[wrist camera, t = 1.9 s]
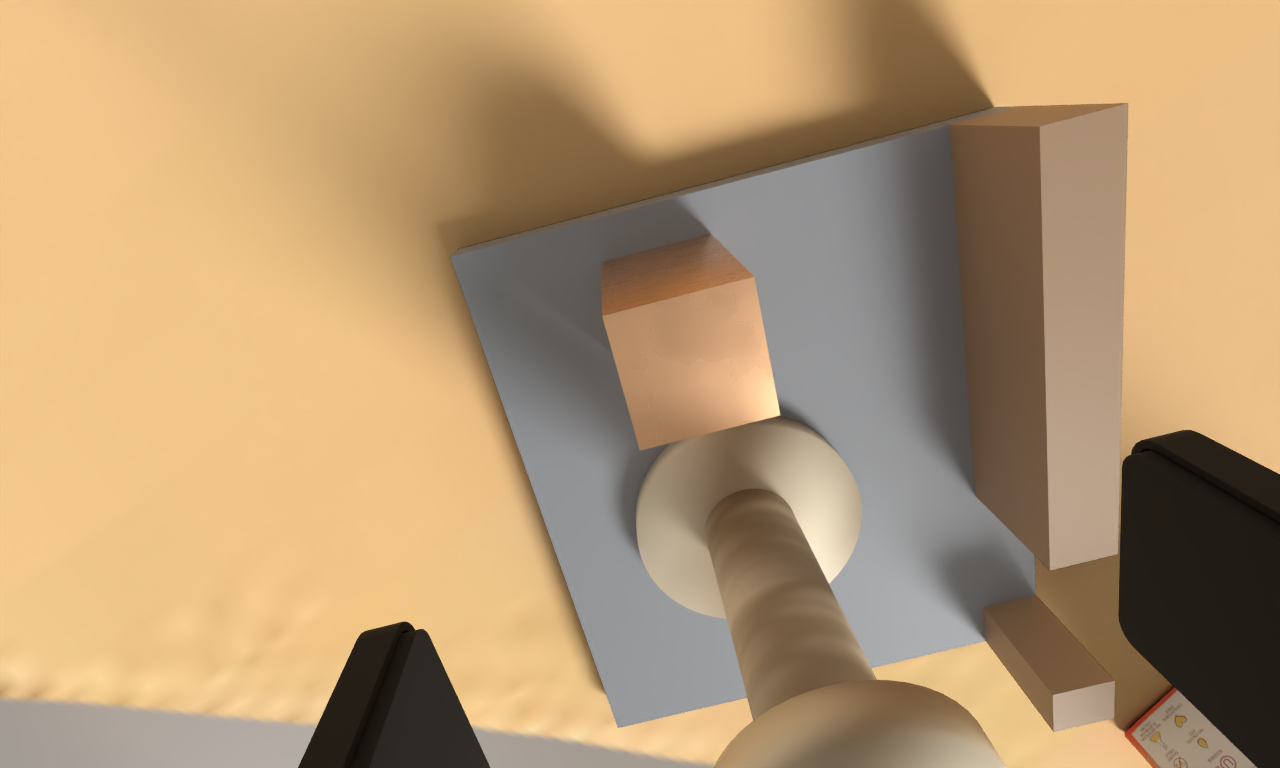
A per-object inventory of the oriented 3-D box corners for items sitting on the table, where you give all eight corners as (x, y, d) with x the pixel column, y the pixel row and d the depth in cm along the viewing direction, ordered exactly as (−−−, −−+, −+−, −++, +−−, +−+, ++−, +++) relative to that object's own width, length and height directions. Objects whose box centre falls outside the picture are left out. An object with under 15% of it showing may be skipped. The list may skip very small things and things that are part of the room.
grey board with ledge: (994, 107, 24) (1128, 103, 18) (1018, 606, 33) (1114, 718, 27) (458, 249, 25) (413, 291, 19) (617, 702, 33) (621, 832, 27)
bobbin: (835, 387, 26) (1073, 654, 13) (863, 572, 29) (1075, 931, 16) (610, 444, 26) (624, 760, 13) (663, 621, 30) (715, 1011, 17)
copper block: (711, 233, 24) (754, 276, 17) (732, 338, 25) (780, 415, 19) (600, 262, 24) (602, 316, 17) (628, 365, 25) (640, 450, 19)
